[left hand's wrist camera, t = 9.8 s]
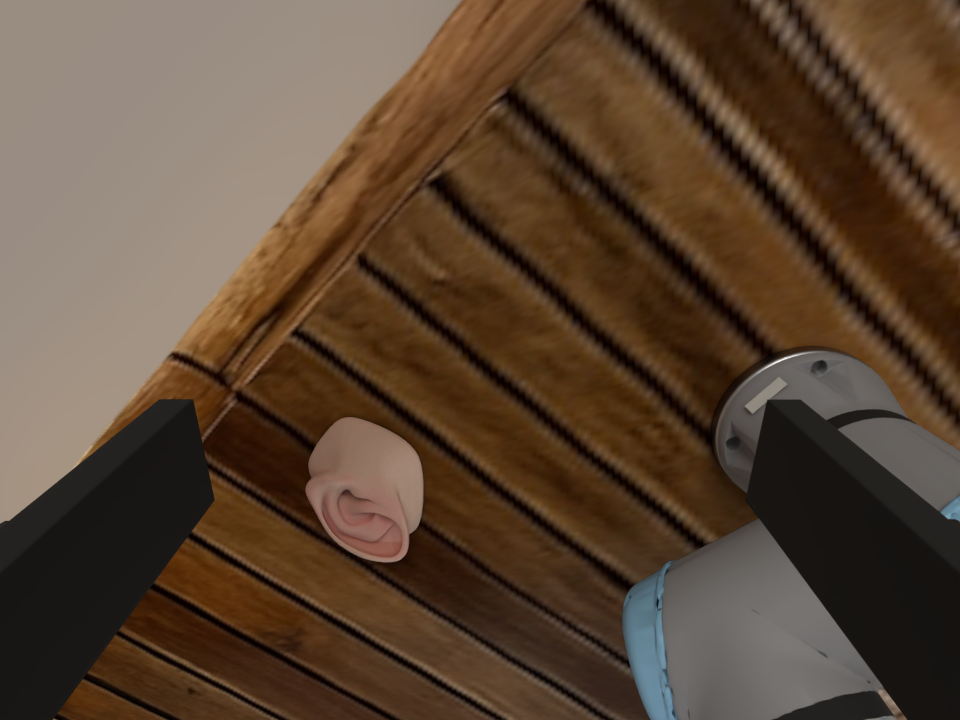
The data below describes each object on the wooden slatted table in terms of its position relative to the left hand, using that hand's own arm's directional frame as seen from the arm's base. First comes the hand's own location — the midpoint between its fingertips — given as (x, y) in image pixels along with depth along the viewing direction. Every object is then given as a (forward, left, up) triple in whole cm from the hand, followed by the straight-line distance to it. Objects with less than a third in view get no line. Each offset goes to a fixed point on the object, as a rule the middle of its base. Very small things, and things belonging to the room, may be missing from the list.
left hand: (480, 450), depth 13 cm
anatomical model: (-7, +25, -34) cm, 43 cm away
